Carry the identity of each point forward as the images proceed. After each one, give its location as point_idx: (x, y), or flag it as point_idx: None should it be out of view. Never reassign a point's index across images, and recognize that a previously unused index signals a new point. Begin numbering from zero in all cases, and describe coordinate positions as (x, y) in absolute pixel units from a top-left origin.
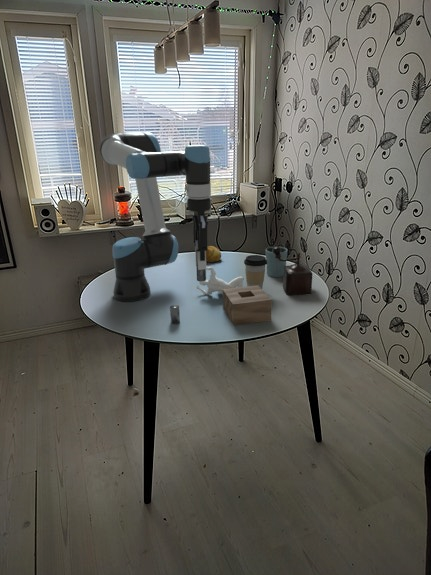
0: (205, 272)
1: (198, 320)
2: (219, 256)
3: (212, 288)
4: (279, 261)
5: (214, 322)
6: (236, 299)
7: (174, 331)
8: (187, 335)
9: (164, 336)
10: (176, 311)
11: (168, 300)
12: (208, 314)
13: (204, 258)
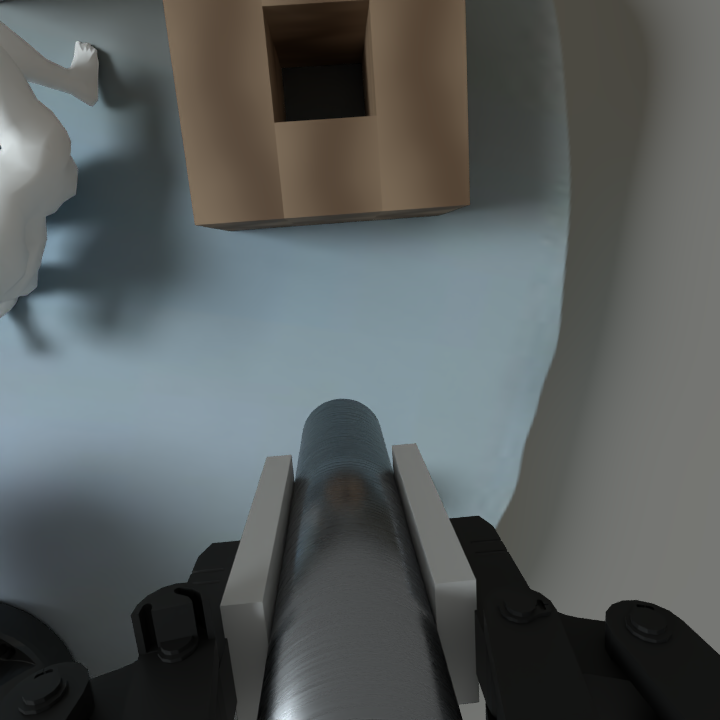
0: (368, 429)
1: (347, 379)
2: None
3: (36, 269)
4: None
5: (385, 304)
6: (397, 161)
7: None
8: (482, 441)
9: None
10: None
11: (78, 509)
12: (288, 321)
13: (497, 539)
